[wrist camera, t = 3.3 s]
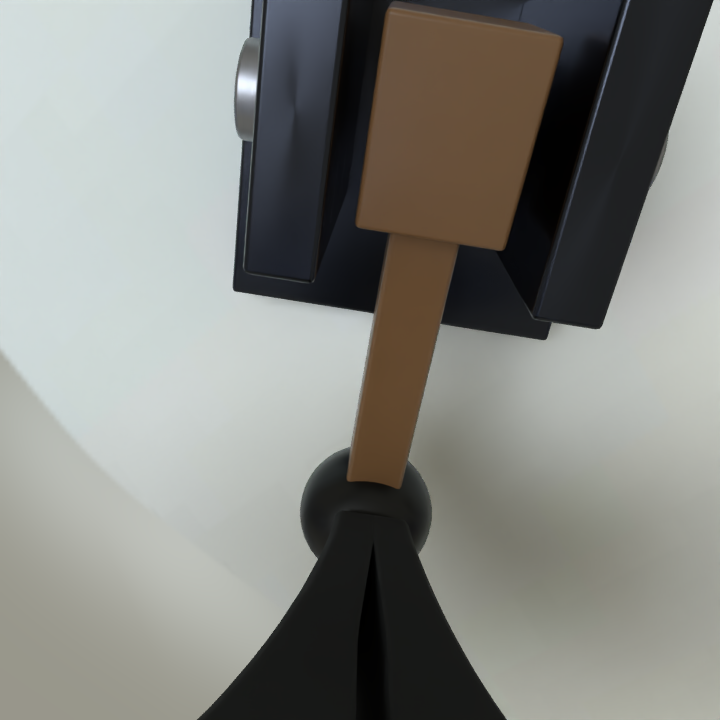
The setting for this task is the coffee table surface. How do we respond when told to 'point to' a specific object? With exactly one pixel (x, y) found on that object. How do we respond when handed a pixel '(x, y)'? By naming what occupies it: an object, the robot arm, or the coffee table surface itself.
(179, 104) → the coffee table surface
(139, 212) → the coffee table surface
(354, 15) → the bracket
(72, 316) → the coffee table surface
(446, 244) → the lever
